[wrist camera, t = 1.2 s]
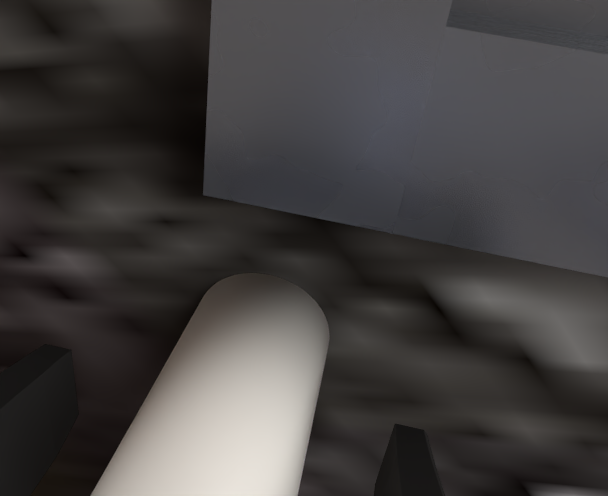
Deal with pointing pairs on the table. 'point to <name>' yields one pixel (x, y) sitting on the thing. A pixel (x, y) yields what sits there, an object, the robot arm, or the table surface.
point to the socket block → (419, 119)
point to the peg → (229, 398)
